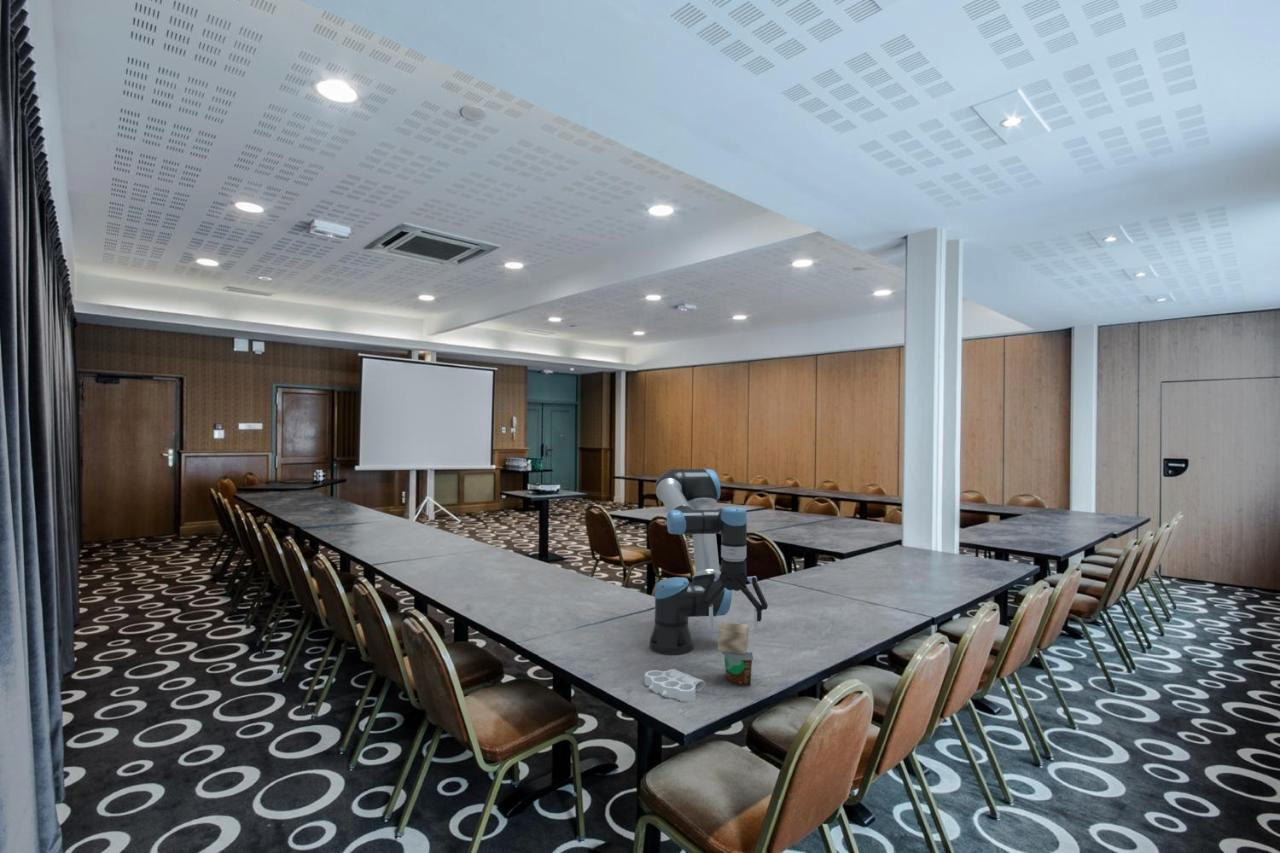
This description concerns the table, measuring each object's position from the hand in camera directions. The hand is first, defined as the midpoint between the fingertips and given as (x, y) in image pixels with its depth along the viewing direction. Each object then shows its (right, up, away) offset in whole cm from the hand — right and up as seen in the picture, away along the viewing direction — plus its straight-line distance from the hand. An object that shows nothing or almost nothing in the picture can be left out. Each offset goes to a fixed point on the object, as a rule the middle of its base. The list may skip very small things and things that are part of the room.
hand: (733, 629), depth 183 cm
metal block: (0, -5, -1) cm, 5 cm away
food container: (0, -15, -1) cm, 15 cm away
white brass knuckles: (-18, -16, -7) cm, 25 cm away
